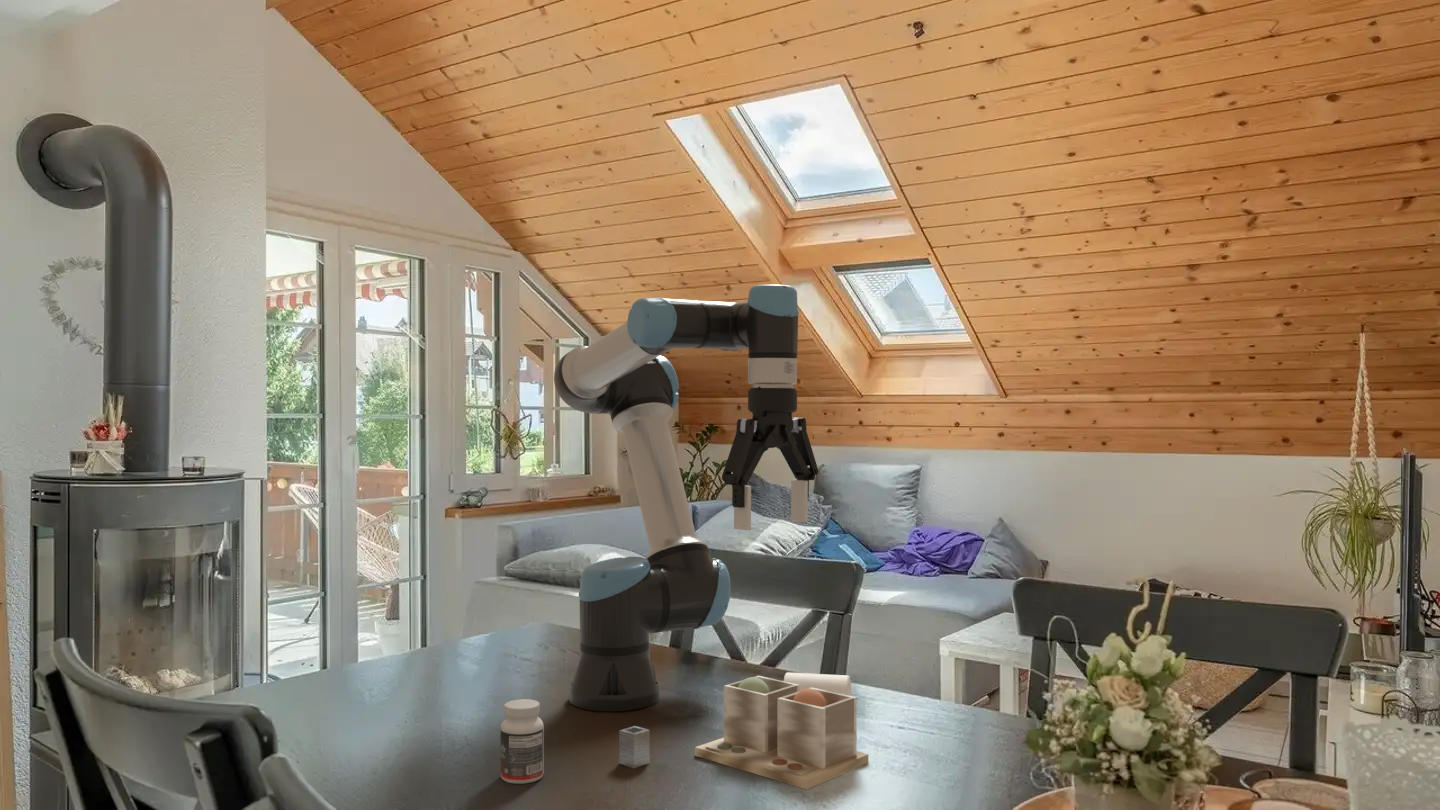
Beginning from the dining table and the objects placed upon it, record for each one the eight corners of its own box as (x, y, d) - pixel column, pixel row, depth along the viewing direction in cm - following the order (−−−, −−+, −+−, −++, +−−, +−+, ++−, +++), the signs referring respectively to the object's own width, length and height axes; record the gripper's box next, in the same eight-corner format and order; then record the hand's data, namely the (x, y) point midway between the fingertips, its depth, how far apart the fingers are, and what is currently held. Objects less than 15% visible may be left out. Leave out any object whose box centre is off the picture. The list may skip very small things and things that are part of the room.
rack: (694, 755, 155) (694, 691, 155) (758, 733, 165) (758, 672, 165) (806, 789, 142) (806, 718, 142) (868, 762, 152) (868, 696, 152)
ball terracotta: (803, 736, 151) (779, 710, 152) (821, 719, 154) (797, 693, 155) (821, 720, 148) (797, 693, 149) (838, 702, 151) (814, 676, 153)
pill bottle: (503, 771, 149) (503, 698, 149) (545, 769, 149) (545, 697, 149) (498, 785, 143) (498, 710, 143) (542, 784, 143) (542, 709, 143)
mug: (846, 735, 165) (846, 682, 165) (781, 731, 167) (781, 679, 167) (853, 713, 176) (853, 664, 176) (792, 709, 178) (792, 661, 178)
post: (619, 763, 152) (619, 730, 152) (634, 758, 154) (634, 725, 154) (634, 768, 150) (634, 734, 150) (649, 763, 152) (649, 730, 152)
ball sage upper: (740, 720, 158) (724, 692, 158) (758, 701, 162) (742, 673, 161) (764, 715, 155) (747, 686, 154) (781, 696, 158) (765, 668, 158)
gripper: (736, 386, 155) (735, 535, 155) (841, 387, 173) (839, 520, 174) (698, 386, 160) (697, 530, 160) (803, 387, 178) (802, 516, 179)
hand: (771, 525), depth 167 cm, fingers open, 13 cm apart
